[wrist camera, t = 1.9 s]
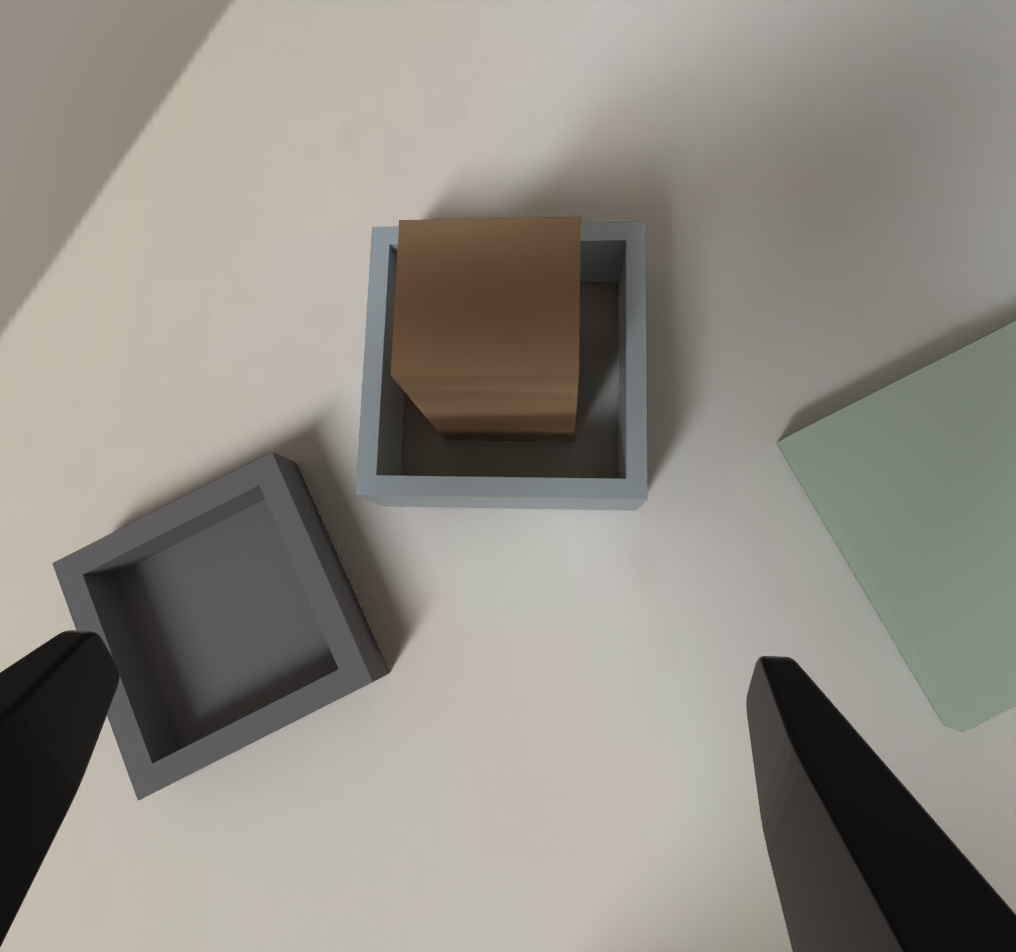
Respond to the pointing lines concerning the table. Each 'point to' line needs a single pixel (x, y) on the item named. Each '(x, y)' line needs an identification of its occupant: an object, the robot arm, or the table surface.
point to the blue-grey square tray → (602, 260)
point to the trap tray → (220, 620)
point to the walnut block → (490, 326)
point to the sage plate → (931, 518)
